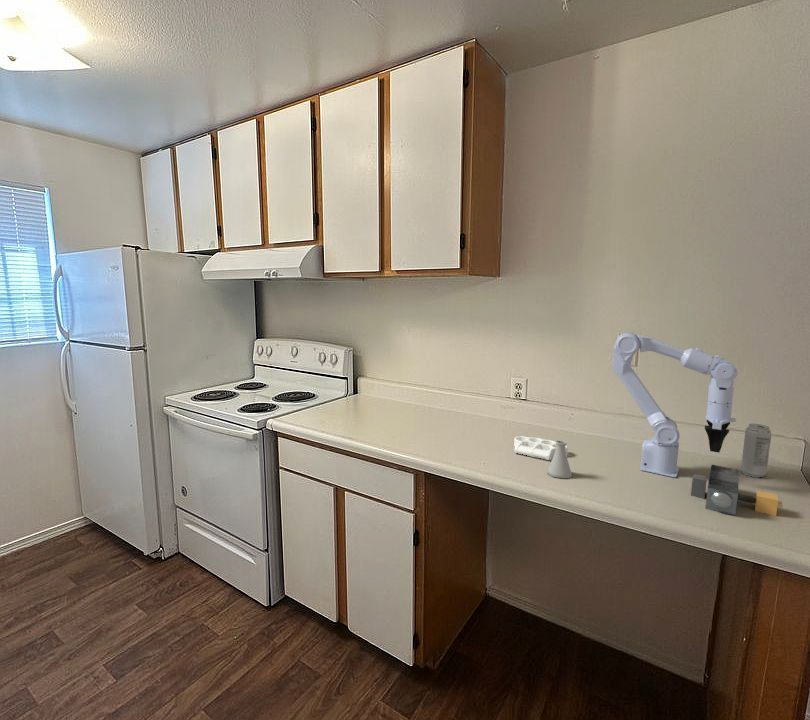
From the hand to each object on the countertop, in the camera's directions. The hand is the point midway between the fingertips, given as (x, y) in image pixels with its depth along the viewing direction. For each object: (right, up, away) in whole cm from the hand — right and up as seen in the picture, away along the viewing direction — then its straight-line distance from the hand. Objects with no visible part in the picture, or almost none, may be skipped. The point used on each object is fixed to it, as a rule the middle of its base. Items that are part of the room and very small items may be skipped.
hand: (715, 447), depth 127 cm
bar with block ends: (-5, -11, -14) cm, 19 cm away
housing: (-7, -11, -12) cm, 18 cm away
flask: (-44, -9, +4) cm, 45 cm away
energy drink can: (+15, -9, +5) cm, 18 cm away
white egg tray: (-44, -6, +23) cm, 50 cm away
